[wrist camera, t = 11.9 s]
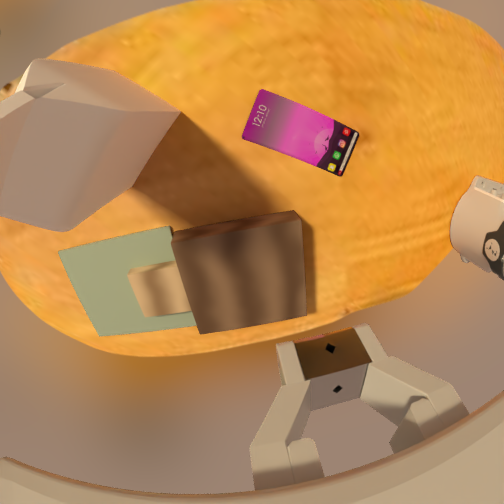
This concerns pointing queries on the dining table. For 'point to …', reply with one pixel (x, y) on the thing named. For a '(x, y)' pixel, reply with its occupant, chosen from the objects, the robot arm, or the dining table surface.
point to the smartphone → (300, 132)
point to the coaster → (159, 289)
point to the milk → (74, 141)
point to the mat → (120, 281)
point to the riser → (243, 271)
